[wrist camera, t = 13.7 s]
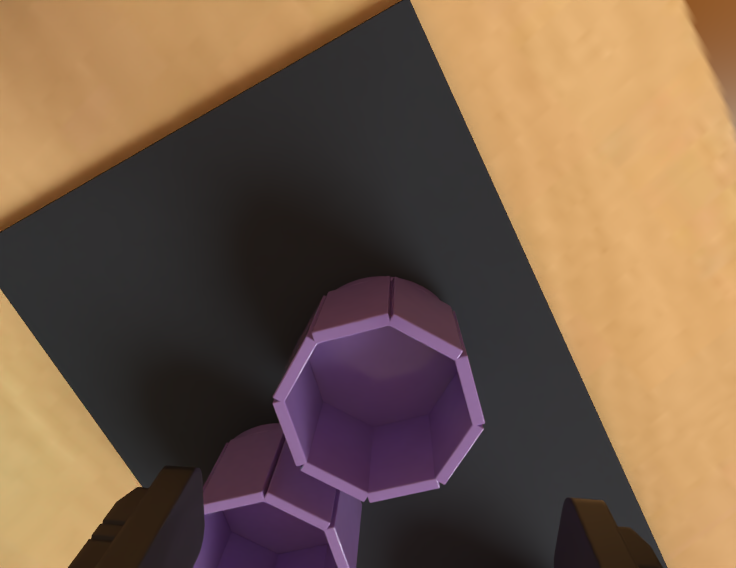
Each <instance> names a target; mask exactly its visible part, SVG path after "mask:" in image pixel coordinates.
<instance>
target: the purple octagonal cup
mask: <svg viewBox="0 0 736 568" xmlns="http://www.w3.org/2000/svg"><path fill="white" fill-rule="evenodd" d="M300 468H301V465H300V466H296V465H295V462H294V459H293V457H292V454H291V452H290V449H289V446H288V444H287V441H286V438H285V436H284V433H283V430H282V428H281V425H280V423H271V424H265V425H260V426H257V427H254V428H251V429H249V430H247V431H244V432H243V433H241V434H239V435H238V436H236V437H235V438H234V439H231V440H230V442H229V443H226V444H225V446H224V448H223V450H222V452H221V454H220V455H219V457H218V459H217V461H216V463H215V465H214V467H213V468H212V470H211V472H210V474H209V476H208V478H207V480H206V481H205V483H204V485H203V500H204V520H205V530H204V538H203V543H202V547H201V550H200V553H199V556H198V558H197V560H196V562H195V564H194V567H193V568H356V563H357V552H358V542H359V532H360V521H361V511H362V503H361V501H360V500H358V499H356V498H354V497H352V496H350V495H348V494H346V493H344V492H342V491H340V490H338V489H336V488H334V487H332V486H330V485H328V484H326V483H324V482H322V481H320V480H318V479H316V478H314V477H312V476H310V475H308V474H306V473H304V472H302V471H301V470H300Z"/></svg>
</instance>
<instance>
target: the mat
mask: <svg viewBox="0 0 736 568" xmlns="http://www.w3.org/2000/svg"><path fill="white" fill-rule="evenodd" d="M377 276H390V277H398V278H401V279H405V280H408V281H411V282H414V283H416V284H418V285H420V286H423V287H424V288H426V289H427V290H429V291H431V292H432V293H433V294H435V295H436V296H437V297H438V298H439V299H440V300H441V301H442V302H444V303H446V304H448V305H449V306H451V308H452V311H455V313H456V316H457V320H458V324H459V327H460V331H461V334H462V338H463V341H464V345H465V348H466V352H467V356H468V359H469V363H470V367H471V371H472V374H473V378H474V382H475V386H476V389H477V393H478V397H479V401H480V405H481V408H482V412H483V416H484V420H485V423H484V424H483V427H484V430H483V431H482V433H481V434H480V435H479V437H478V438H477V440H476V441H475V443H474V444H473V445H472V447H471V448H470V450H469V451H468V453H467V454H466V455H465V457H464V458H463V460H462V461H461V462H460V464H459V465H458V467H457V468H456V470H455V471H454V472H453V474H452V475H451V477H450V478H449V480H448V481H447V482H446V484H445V485H444V484H442V483H440V488H437V489H433V490H428V491H423V492H419V493H414V494H409V495H405V496H400V497H395V498H391V499H386V500H381V501H376V502H372V503H370V502H369V500H368V497H367V498H366V500H365V501H364V502H363V501H361V503H362V511H361V521H360V532H359V542H358V552H357V563H356V568H554V554H555V548H556V542H557V536H558V531H559V525H560V519H561V514H562V508H563V503H564V501H565V499H566V498H567V497H569V498H582V499H595V500H603V501H604V502H605V503H606V505H607V506H608V508H609V510H610V512H611V514H612V516H613V518H614V520H615V522H616V524H617V526H619V527H631V528H632V529H633V530H634V531H635V532H636V533H637V534H638V535H639V536H640V537H641V538H642V539H643V540H645V541H646V542H647V543H648V544H649V545H650V546H651V547H652V549H653V551H654V553H655V554H656V556H657V558H658V560H659V561H660V563H661V565H662V567H663V568H667V566H666V563H665V561H664V559H663V557H662V555H661V552H660V550H659V548H658V546H657V544H656V541H655V539H654V537H653V535H652V533H651V530H650V528H649V526H648V524H647V522H646V519H645V517H644V515H643V513H642V511H641V508H640V506H639V504H638V502H637V500H636V497H635V495H634V493H633V491H632V489H631V486H630V484H629V482H628V480H627V477H626V475H625V473H624V471H623V469H622V466H621V464H620V462H619V460H618V458H617V455H616V453H615V451H614V449H613V447H612V444H611V442H610V440H609V438H608V436H607V433H606V431H605V429H604V427H603V425H602V422H601V420H600V418H599V416H598V414H597V411H596V409H595V407H594V405H593V403H592V400H591V398H590V396H589V394H588V392H587V389H586V387H585V385H584V383H583V381H582V378H581V376H580V374H579V372H578V370H577V367H576V365H575V363H574V361H573V359H572V356H571V354H570V352H569V350H568V348H567V345H566V343H565V341H564V339H563V336H562V334H561V332H560V330H559V328H558V325H557V323H556V321H555V319H554V317H553V314H552V312H551V310H550V308H549V306H548V303H547V301H546V299H545V297H544V295H543V292H542V290H541V288H540V286H539V284H538V281H537V279H536V277H535V275H534V273H533V270H532V268H531V266H530V264H529V262H528V259H527V257H526V255H525V253H524V251H523V248H522V246H521V244H520V242H519V240H518V237H517V235H516V233H515V231H514V229H513V226H512V224H511V222H510V220H509V218H508V215H507V213H506V211H505V209H504V207H503V204H502V202H501V200H500V198H499V195H498V193H497V191H496V189H495V187H494V184H493V182H492V180H491V178H490V176H489V173H488V171H487V169H486V167H485V165H484V162H483V160H482V158H481V156H480V154H479V151H478V149H477V147H476V145H475V143H474V140H473V138H472V136H471V134H470V132H469V129H468V127H467V125H466V123H465V121H464V118H463V116H462V114H461V112H460V110H459V107H458V105H457V103H456V101H455V99H454V96H453V94H452V92H451V90H450V88H449V85H448V83H447V81H446V79H445V77H444V74H443V72H442V70H441V68H440V66H439V63H438V61H437V59H436V57H435V54H434V52H433V50H432V48H431V46H430V43H429V41H428V39H427V37H426V35H425V32H424V30H423V28H422V26H421V24H420V21H419V19H418V17H417V15H416V13H415V10H414V8H413V6H412V4H411V2H410V0H402V1H400V2H398V3H396V4H395V5H393V6H391V7H390V8H388V9H386V10H384V11H383V12H381V13H379V14H377V15H376V16H374V17H372V18H370V19H369V20H367V21H365V22H364V23H362V24H360V25H358V26H357V27H355V28H353V29H351V30H350V31H348V32H346V33H344V34H343V35H341V36H339V37H338V38H336V39H334V40H332V41H331V42H329V43H327V44H325V45H324V46H322V47H320V48H318V49H317V50H315V51H313V52H312V53H310V54H308V55H306V56H305V57H303V58H301V59H299V60H298V61H296V62H294V63H293V64H291V65H289V66H287V67H286V68H284V69H282V70H280V71H279V72H277V73H275V74H273V75H272V76H270V77H268V78H267V79H265V80H263V81H261V82H260V83H258V84H256V85H254V86H253V87H251V88H249V89H247V90H246V91H244V92H242V93H241V94H239V95H237V96H235V97H234V98H232V99H230V100H228V101H227V102H225V103H223V104H221V105H220V106H218V107H216V108H215V109H213V110H211V111H209V112H208V113H206V114H204V115H202V116H201V117H199V118H197V119H195V120H194V121H192V122H190V123H189V124H187V125H185V126H183V127H182V128H180V129H178V130H176V131H175V132H173V133H171V134H169V135H168V136H166V137H164V138H163V139H161V140H159V141H157V142H156V143H154V144H152V145H150V146H149V147H147V148H145V149H143V150H142V151H140V152H138V153H137V154H135V155H133V156H131V157H130V158H128V159H126V160H124V161H123V162H121V163H119V164H118V165H116V166H114V167H112V168H111V169H109V170H107V171H105V172H104V173H102V174H100V175H98V176H97V177H95V178H93V179H92V180H90V181H88V182H86V183H85V184H83V185H81V186H79V187H78V188H76V189H74V190H72V191H71V192H69V193H67V194H66V195H64V196H62V197H60V198H59V199H57V200H55V201H53V202H52V203H50V204H48V205H46V206H45V207H43V208H41V209H40V210H38V211H36V212H34V213H33V214H31V215H29V216H27V217H26V218H24V219H22V220H20V221H19V222H17V223H15V224H14V225H12V226H10V227H8V228H7V229H5V230H3V231H1V232H0V289H1V290H2V292H3V293H4V294H5V296H6V297H7V299H8V300H9V301H10V303H11V304H12V306H13V307H14V308H15V310H16V311H17V313H18V314H19V315H20V317H21V318H22V319H23V321H24V322H25V324H26V325H27V326H28V328H29V329H30V331H31V332H32V333H33V335H34V336H35V338H36V339H37V340H38V342H39V343H40V345H41V346H42V347H43V349H44V350H45V352H46V353H47V354H48V356H49V357H50V359H51V360H52V361H53V363H54V364H55V366H56V367H57V368H58V370H59V371H60V373H61V374H62V375H63V377H64V378H65V380H66V381H67V382H68V384H69V385H70V386H71V388H72V389H73V391H74V392H75V393H76V395H77V396H78V398H79V399H80V400H81V402H82V403H83V405H84V406H85V407H86V409H87V410H88V412H89V413H90V414H91V416H92V417H93V419H94V420H95V421H96V423H97V424H98V426H99V427H100V428H101V430H102V431H103V433H104V434H105V435H106V437H107V438H108V440H109V441H110V442H111V444H112V445H113V447H114V448H115V449H116V451H117V452H118V453H119V455H120V456H121V458H122V459H123V460H124V462H125V463H126V465H127V466H128V467H129V469H130V470H131V472H132V473H133V474H134V476H135V477H136V479H137V480H138V481H139V483H140V484H141V486H142V487H143V488H149V487H150V486H151V484H152V483H153V481H154V480H155V478H156V477H157V475H158V474H159V472H160V471H161V470H162V468H163V467H164V466H166V465H170V466H183V467H196V468H200V469H201V472H202V480H203V485H204V483H205V481H206V480H207V478H208V476H209V474H210V472H211V470H212V468H213V467H214V465H215V463H216V461H217V459H218V457H219V455H220V454H221V452H222V450H223V448H224V446H225V444H226V443H229V442H230V440H231V439H234V438H235V437H236V436H238V435H239V434H241V433H243V432H244V431H247V430H249V429H251V428H254V427H257V426H260V425H265V424H271V423H280V422H279V420H278V417H277V414H276V412H275V409H274V407H273V404H272V403H273V400H274V398H273V395H274V392H275V390H276V388H277V386H278V384H279V381H280V379H281V377H282V375H283V372H284V370H285V368H286V366H287V364H288V361H289V359H290V357H291V355H292V353H293V350H294V348H295V346H296V344H297V342H298V340H299V339H300V337H301V335H302V333H303V331H304V330H305V328H306V326H307V324H308V322H309V320H310V318H311V316H312V314H313V313H314V311H315V310H316V308H317V306H318V304H319V302H320V300H321V299H322V297H323V296H326V295H327V293H328V292H329V291H333V290H336V289H338V288H339V287H341V286H343V285H345V284H347V283H350V282H353V281H355V280H358V279H363V278H368V277H377Z"/></svg>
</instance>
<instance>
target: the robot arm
mask: <svg viewBox="0 0 736 568" xmlns="http://www.w3.org/2000/svg"><path fill="white" fill-rule="evenodd" d="M204 530H205V520H204V500H203V480H202V472H201V469H200V468H196V467H183V466H170V465H166V466H164V467H163V468H162V470H161V471H160V472H159V474H158V475H157V477H156V478H155V480H154V481H153V483H152V484H151V486H150V487H149V488H143V487H137V488H135V489H134V490H133V491H131V492H130V493H128V494H127V495H126V496H124V497H123V498H121V499H120V500H119V501H117V502H116V503H115V505H114V506H113V507H112V509H111V510H110V512H109V513H108V514H107V516H106V517H105V518H104V520H103V523H102V524H100V525H99V526H98V528H97V529H96V530H95V532H94V533H93V534H92V538H91V539H89V540H88V541H87V543H86V544H85V545H84V547H83V548H82V549H81V551H80V552H79V553H78V555H77V556H76V557H75V559H74V560H73V561H72V563H71V564H70V566H69V567H68V568H193V567H194V564H195V562H196V560H197V558H198V556H199V553H200V550H201V547H202V543H203V538H204ZM554 568H663V567H662V565H661V563H660V561H659V560H658V558H657V556H656V554H655V553H654V551H653V549H652V547H651V546H650V545H649V544H648V543H647V542H646V541H645V540H643V539H642V538H641V537H640V536H639V535H638V534H637V533H636V532H635V531H634V530H633V529H632V528H631V527H619V526H617V524H616V522H615V520H614V518H613V516H612V514H611V512H610V510H609V508H608V506H607V505H606V503H605V502H604V501H603V500H595V499H582V498H569V497H567V498H566V499H565V501H564V503H563V508H562V514H561V519H560V525H559V531H558V536H557V542H556V548H555V554H554Z"/></svg>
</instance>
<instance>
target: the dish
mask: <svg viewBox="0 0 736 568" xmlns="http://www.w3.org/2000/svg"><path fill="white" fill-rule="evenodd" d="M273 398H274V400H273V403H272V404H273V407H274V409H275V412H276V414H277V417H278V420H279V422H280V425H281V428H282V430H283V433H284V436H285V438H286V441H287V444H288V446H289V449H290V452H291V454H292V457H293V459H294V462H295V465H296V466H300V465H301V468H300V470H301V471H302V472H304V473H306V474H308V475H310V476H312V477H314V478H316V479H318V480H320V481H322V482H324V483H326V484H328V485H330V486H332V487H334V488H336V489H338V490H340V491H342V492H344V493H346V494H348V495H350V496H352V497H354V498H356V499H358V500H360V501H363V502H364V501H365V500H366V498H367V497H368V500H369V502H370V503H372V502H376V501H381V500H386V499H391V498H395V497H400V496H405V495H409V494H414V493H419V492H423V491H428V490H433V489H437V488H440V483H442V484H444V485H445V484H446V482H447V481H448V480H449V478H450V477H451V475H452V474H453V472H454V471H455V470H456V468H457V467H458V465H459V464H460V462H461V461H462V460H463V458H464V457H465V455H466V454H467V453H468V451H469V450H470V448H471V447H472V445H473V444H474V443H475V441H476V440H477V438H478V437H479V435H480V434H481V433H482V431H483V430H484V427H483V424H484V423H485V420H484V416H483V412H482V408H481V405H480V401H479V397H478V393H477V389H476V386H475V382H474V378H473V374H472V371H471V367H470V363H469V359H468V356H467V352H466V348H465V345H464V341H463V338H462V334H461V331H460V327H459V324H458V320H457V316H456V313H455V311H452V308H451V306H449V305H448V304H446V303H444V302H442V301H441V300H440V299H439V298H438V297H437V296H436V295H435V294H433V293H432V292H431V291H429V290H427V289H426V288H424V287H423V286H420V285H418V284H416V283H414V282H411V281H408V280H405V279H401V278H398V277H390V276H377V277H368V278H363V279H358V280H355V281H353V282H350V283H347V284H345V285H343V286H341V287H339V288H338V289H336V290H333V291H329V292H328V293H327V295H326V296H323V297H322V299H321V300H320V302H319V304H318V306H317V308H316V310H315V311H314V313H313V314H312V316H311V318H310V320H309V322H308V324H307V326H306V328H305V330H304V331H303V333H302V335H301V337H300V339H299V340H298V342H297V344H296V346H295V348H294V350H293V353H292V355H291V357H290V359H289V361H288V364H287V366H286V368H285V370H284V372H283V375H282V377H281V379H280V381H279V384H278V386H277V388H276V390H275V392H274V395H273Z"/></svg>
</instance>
